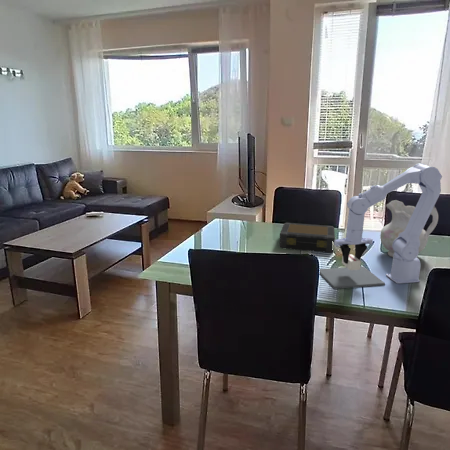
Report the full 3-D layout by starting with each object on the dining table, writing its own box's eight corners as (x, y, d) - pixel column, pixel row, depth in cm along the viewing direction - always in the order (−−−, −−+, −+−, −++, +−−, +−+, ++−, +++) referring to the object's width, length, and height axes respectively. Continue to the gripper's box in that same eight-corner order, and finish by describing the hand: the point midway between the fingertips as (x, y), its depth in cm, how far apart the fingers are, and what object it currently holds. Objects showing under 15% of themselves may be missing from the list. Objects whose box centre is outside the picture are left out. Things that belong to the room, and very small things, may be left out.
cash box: (333, 239, 191) (334, 225, 189) (333, 253, 172) (335, 237, 170) (283, 235, 197) (284, 221, 195) (278, 248, 178) (279, 233, 176)
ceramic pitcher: (431, 256, 171) (441, 202, 166) (429, 268, 155) (439, 208, 150) (381, 248, 182) (388, 197, 177) (374, 258, 166) (381, 202, 160)
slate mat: (363, 268, 156) (363, 266, 156) (384, 285, 141) (385, 283, 140) (317, 271, 153) (317, 269, 153) (334, 288, 138) (334, 286, 137)
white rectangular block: (359, 269, 142) (360, 260, 141) (349, 270, 142) (350, 261, 141) (351, 262, 149) (352, 254, 148) (341, 263, 148) (342, 254, 147)
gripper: (367, 224, 146) (363, 257, 150) (332, 226, 144) (329, 259, 148) (377, 230, 139) (372, 264, 143) (340, 231, 137) (336, 266, 141)
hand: (351, 262), depth 145 cm, fingers closed on white rectangular block, 4 cm apart
